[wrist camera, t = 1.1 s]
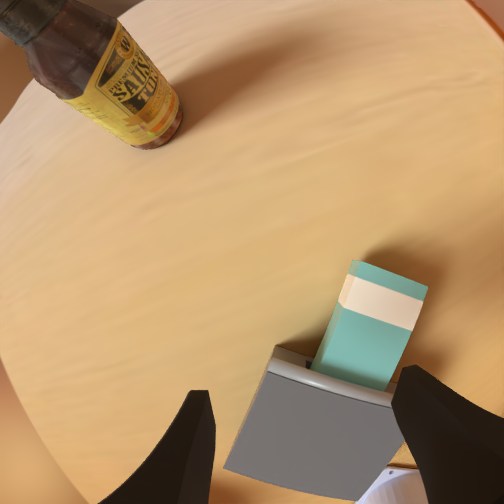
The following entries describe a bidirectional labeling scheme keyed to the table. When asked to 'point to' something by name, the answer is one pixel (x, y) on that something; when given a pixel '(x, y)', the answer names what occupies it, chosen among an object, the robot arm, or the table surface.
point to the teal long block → (369, 326)
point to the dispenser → (315, 431)
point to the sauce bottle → (94, 68)
